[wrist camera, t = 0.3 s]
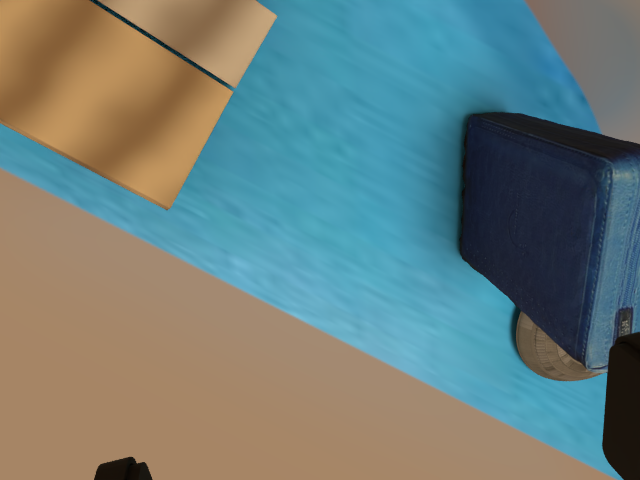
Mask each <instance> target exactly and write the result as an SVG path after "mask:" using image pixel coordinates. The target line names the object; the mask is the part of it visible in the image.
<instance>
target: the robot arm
mask: <svg viewBox="0 0 640 480" xmlns="http://www.w3.org/2000/svg"><path fill="white" fill-rule="evenodd" d="M602 447H603V452H604V455H605V457H606V459H607V461H608V462H609V464H610V465H611V466H612V467H613V468H614V470H615V471H616V472H617V473H618V474H619V475H620V476H621V477H622V478H623V479H624V480H640V332H636V333H632V334H627V335H623V336H620V337H618V338H617V339H616V340H615V344H614V346H612V347H611V348H610V350H609V360H608V373H607V387H606V401H605V415H604V429H603V443H602ZM94 480H152V477H151V474H150V472H149V469H148V467H147V465H146V463H145V462H142V463H138V464H137V463H136V461H135V459H134V458H133V457H128V458H123V459H119V460H115V461H112V462H107V463H103V464H100V465H99V466H98V469H97V471H96V475H95V478H94Z"/></svg>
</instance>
